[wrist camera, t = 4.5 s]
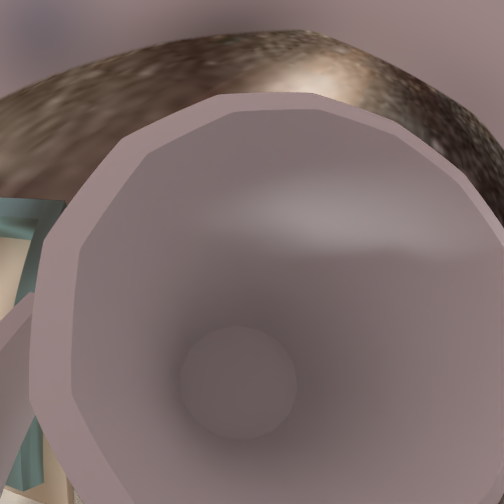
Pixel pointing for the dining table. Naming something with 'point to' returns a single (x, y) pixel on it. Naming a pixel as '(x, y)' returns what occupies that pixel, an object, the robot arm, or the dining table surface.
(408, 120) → the dining table surface
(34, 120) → the dining table surface
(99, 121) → the dining table surface
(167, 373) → the foam cup
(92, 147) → the dining table surface
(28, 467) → the plate
